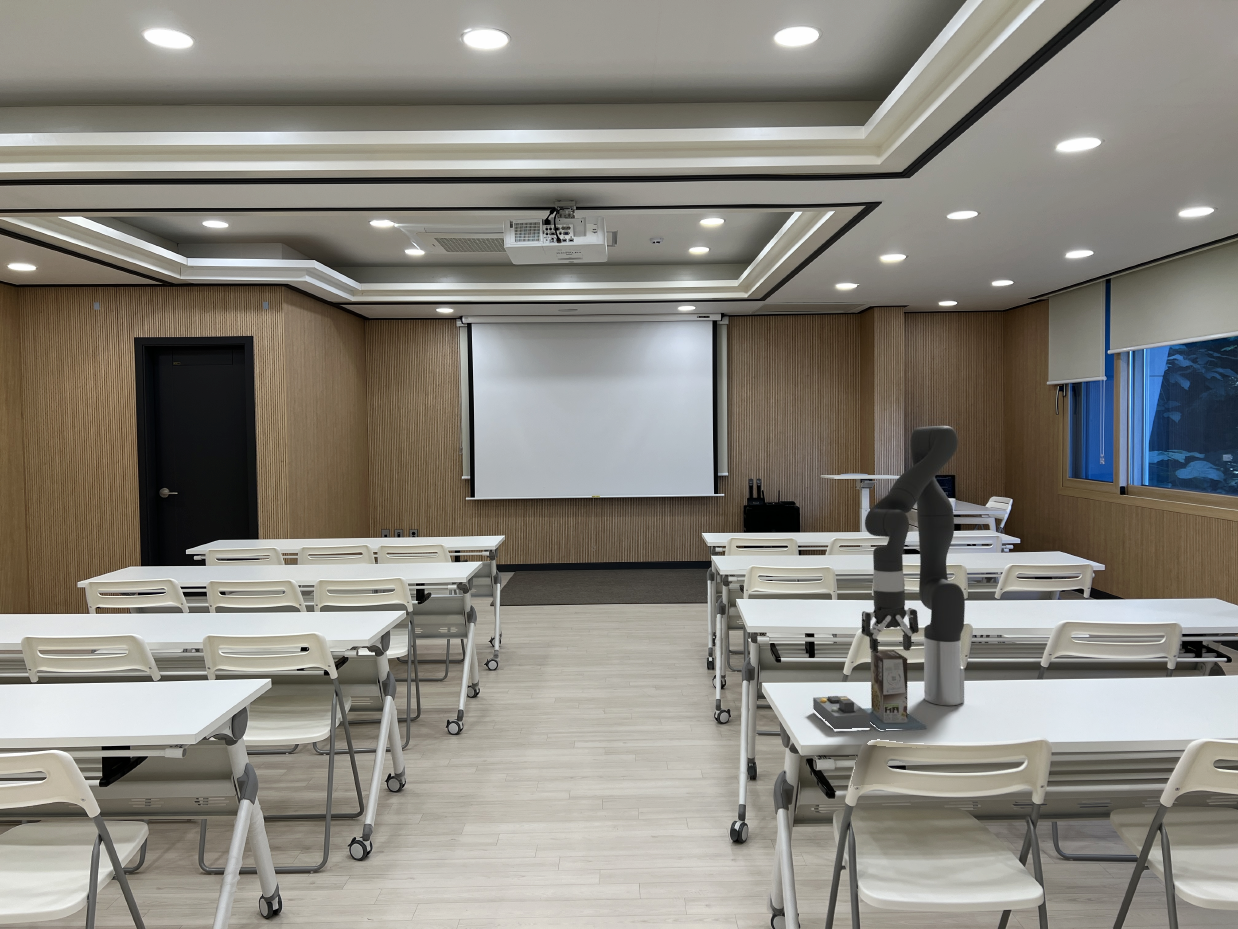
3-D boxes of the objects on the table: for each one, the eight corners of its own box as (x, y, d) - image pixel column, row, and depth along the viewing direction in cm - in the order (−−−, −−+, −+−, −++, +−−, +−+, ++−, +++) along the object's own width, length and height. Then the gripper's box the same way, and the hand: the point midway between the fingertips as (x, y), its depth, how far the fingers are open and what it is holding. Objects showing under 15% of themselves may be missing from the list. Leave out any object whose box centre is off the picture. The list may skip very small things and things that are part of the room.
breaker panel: (813, 712, 195) (813, 695, 195) (846, 711, 197) (845, 693, 196) (835, 732, 182) (835, 713, 181) (870, 730, 183) (870, 711, 183)
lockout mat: (898, 709, 197) (898, 706, 197) (926, 728, 183) (926, 725, 183) (854, 712, 196) (854, 708, 196) (879, 731, 182) (879, 728, 182)
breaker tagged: (828, 707, 194) (827, 696, 194) (837, 706, 194) (837, 695, 194) (832, 710, 191) (832, 700, 191) (842, 710, 191) (842, 699, 191)
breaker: (839, 710, 187) (839, 699, 187) (849, 709, 187) (848, 698, 187) (844, 714, 184) (844, 702, 184) (854, 713, 184) (854, 702, 184)
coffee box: (908, 723, 185) (908, 658, 185) (883, 723, 185) (882, 659, 185) (894, 710, 194) (894, 649, 194) (870, 711, 194) (870, 649, 194)
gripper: (907, 583, 194) (909, 645, 194) (855, 586, 192) (857, 649, 192) (922, 588, 186) (924, 653, 186) (869, 592, 184) (871, 657, 184)
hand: (890, 651), depth 189 cm, fingers open, 8 cm apart
